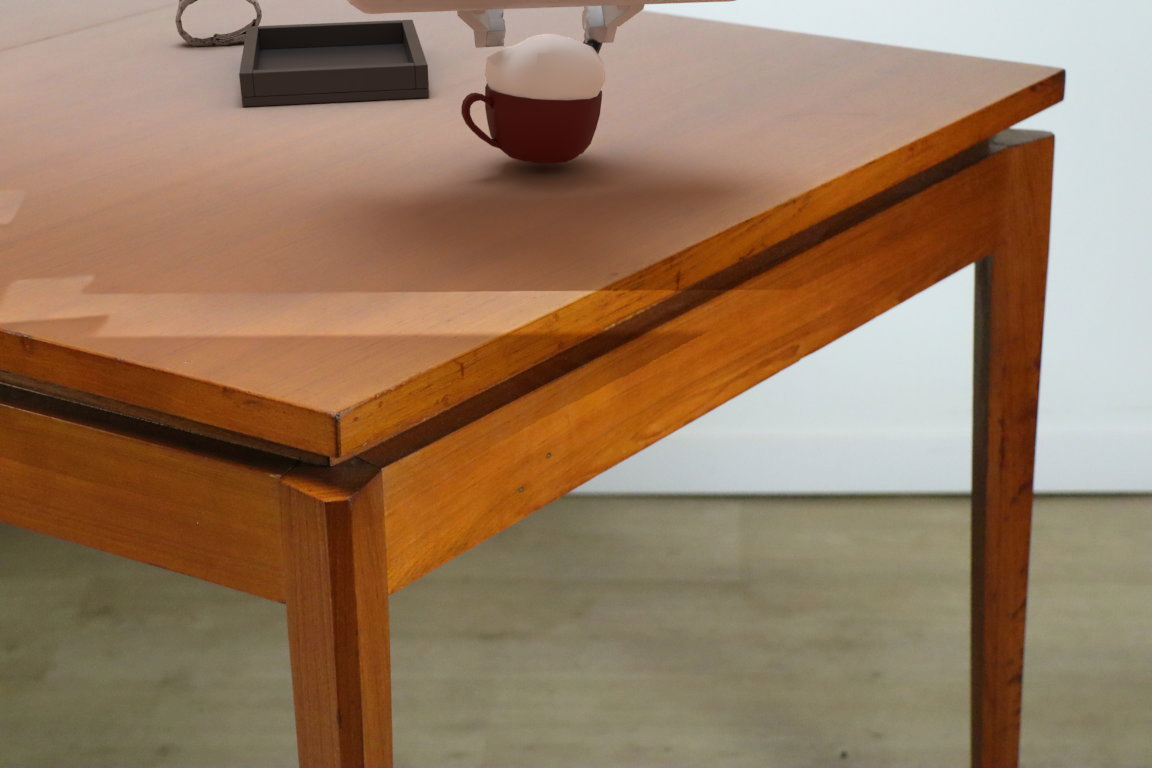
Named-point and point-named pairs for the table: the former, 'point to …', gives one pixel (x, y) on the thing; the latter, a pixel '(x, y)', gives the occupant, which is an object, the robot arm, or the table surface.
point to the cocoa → (541, 98)
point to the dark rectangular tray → (332, 63)
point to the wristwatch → (218, 38)
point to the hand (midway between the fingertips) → (541, 34)
